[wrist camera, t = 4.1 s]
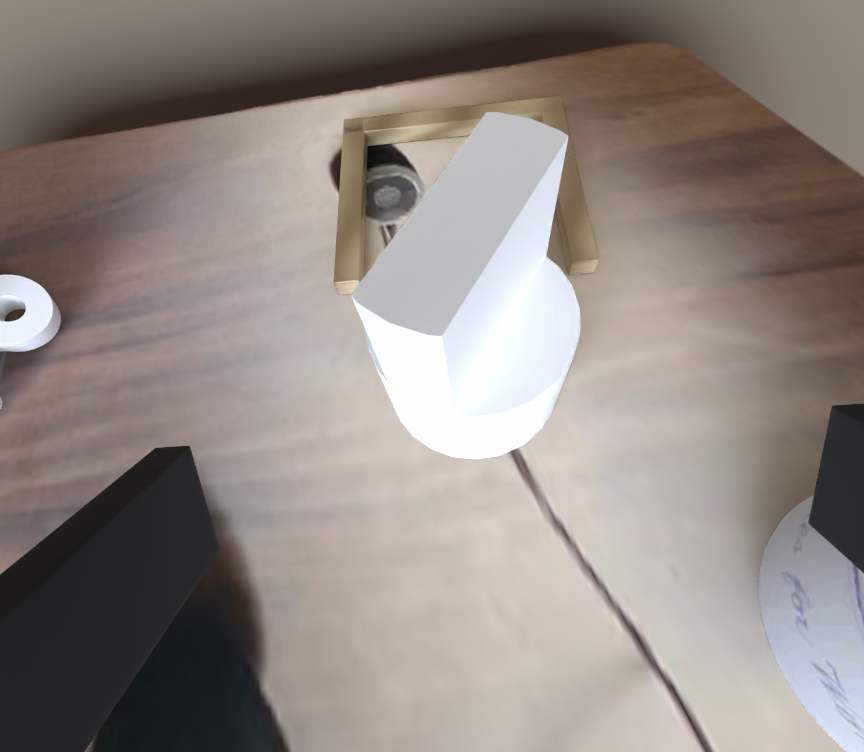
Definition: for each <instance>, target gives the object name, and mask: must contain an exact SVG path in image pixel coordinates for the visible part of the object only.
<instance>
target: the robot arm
mask: <svg viewBox="0 0 864 752" xmlns="http://www.w3.org/2000/svg"><path fill="white" fill-rule="evenodd" d="M808 524H809V525H810V526H812V527H813V528H814V529H815V530H816V531H817V532H818V533H819V534H821V535H822V536H823V537H824V538H825V539H826V540H827V541H828V542H829V543H831V544H832V545H833V546H834V547H835V548H836V549H837V550H838V551H839V552H841V553H842V554H843V555H844V556H845V557H846V558H847V559H848V560H849V561H851V562H852V563H853V564H854V565H855V566H856V567H857V568H858V569H860V570H861V571H862V572H863V573H864V404H851V405H835V406H832V409H831V414H830V419H829V424H828V429H827V434H826V438H825V443H824V448H823V453H822V458H821V463H820V468H819V473H818V478H817V482H816V487H815V492H814V497H813V502H812V507H811V512H810V517H809V522H808ZM219 551H220V549H219V546H218V542H217V539H216V535H215V532H214V528H213V525H212V521H211V518H210V514H209V511H208V508H207V504H206V501H205V497H204V494H203V490H202V487H201V483H200V480H199V476H198V473H197V469H196V466H195V463H194V459H193V456H192V452H191V449H190V446H179V447H163V448H155V449H154V450H153V451H151V452H150V453H149V454H148V455H146V456H145V457H144V458H143V459H142V460H140V461H139V462H138V463H137V464H135V465H134V466H133V467H132V468H131V469H129V470H128V471H127V472H126V473H124V474H123V475H122V476H121V477H119V478H118V479H117V480H116V481H115V482H113V483H112V484H111V485H110V486H108V487H107V488H106V489H105V490H104V491H102V492H101V493H100V494H99V495H97V496H96V497H95V498H94V499H93V500H91V501H90V502H89V503H88V504H86V505H85V506H84V507H83V508H82V509H80V510H79V511H78V512H77V513H75V514H74V515H73V516H72V517H70V518H69V519H68V520H67V521H66V522H64V523H63V524H62V525H61V526H59V527H58V528H57V529H56V530H55V531H53V532H52V533H51V534H50V535H48V536H47V537H46V538H45V539H44V540H42V541H41V542H40V543H39V544H37V545H36V546H35V547H34V548H33V549H31V550H30V551H29V552H28V553H26V554H25V555H24V556H23V557H21V558H20V559H19V560H18V561H17V562H15V563H14V564H13V565H12V566H10V567H9V568H8V569H7V570H6V571H4V572H3V573H2V574H1V575H0V752H84V751H85V750H86V748H87V747H88V745H89V744H90V742H91V741H92V739H93V738H94V736H95V735H96V733H97V732H98V731H99V729H100V728H101V726H102V725H103V723H104V722H105V720H106V719H107V717H108V716H109V714H110V713H111V711H112V710H113V708H114V707H115V705H116V704H117V702H118V701H119V699H120V698H121V696H122V695H123V694H124V692H125V691H126V689H127V688H128V686H129V685H130V683H131V682H132V680H133V679H134V677H135V676H136V674H137V673H138V671H139V670H140V668H141V667H142V665H143V664H144V662H145V661H146V659H147V658H148V656H149V655H150V654H151V652H152V651H153V649H154V648H155V646H156V645H157V643H158V642H159V640H160V639H161V637H162V636H163V634H164V633H165V631H166V630H167V628H168V627H169V625H170V624H171V622H172V621H173V619H174V618H175V617H176V615H177V614H178V612H179V611H180V609H181V608H182V606H183V605H184V603H185V602H186V600H187V599H188V597H189V596H190V594H191V593H192V591H193V590H194V588H195V587H196V585H197V584H198V582H199V581H200V579H201V578H202V577H203V575H204V574H205V572H206V571H207V569H208V568H209V566H210V565H211V563H212V562H213V560H214V559H215V557H216V556H217V554H218V553H219Z"/></svg>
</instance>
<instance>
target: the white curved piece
mask: <svg viewBox="0 0 864 752" xmlns="http://www.w3.org/2000/svg"><path fill="white" fill-rule="evenodd" d="M17 309H26V311H25V313H24V315H23V316H22V317H21V318H20V319H18V320H15V321H11V322H5V317H6V316H7V314H8V313H10V312H11V311H13V310H17ZM60 323H61V315H60V311H59V309H58V307H57V305H56V304H55V302H54V301H53V300H52V298H51V297H50V296H49V294H48V293H47V292H46V290H45V289H44V288H43V287H42V286H40V285H39V284H38V283H36V282H34V281H32V280H30V279H28V278H25V277H21V276H16V275H0V352H1V351H13V352H21V351H29V350H33V349H36V348H38V347H41V346H43V345H44V344H46V343H48V342H49V341H50V340H51V339H52V338H53V337H54V336H55V335H56V333H57V332H58V330H59V327H60ZM2 403H3V402H2V399H1V397H0V408H1V407H2Z"/></svg>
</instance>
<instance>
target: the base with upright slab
mask: <svg viewBox="0 0 864 752" xmlns="http://www.w3.org/2000/svg"><path fill="white" fill-rule="evenodd" d="M568 137H569V136H568V135H566V134H565V133H563V132H562V131H560V130H558V129H555V128H553V127H550V126H548V125H545V124H543V123H540V122H538V121H535V120H533V119H531V118H526V117H520V116H515V115H510V114H504V113H499V112H486V113H485V115H484V116H483V117H482V119H481V120H480V121H479V123H478V124H477V125H476V127H475V128H474V129H473V131H472V132H471V134H470V135H469V136H468V138H467V139H466V140H465V142H464V143H463V144H462V146H461V147H460V148H459V150H458V151H457V152H456V154H455V155H454V156H453V158H452V159H451V161H450V162H449V163H448V165H447V166H446V167H445V169H444V170H443V171H442V173H441V174H440V175H439V177H438V178H437V179H436V181H435V182H434V183H433V185H432V186H431V187H430V189H429V190H428V192H427V193H426V194H425V196H424V197H423V198H422V200H421V201H420V202H419V204H418V205H417V206H416V208H415V209H414V210H413V212H412V213H411V214H410V216H409V217H408V218H407V220H406V221H405V223H404V224H403V225H402V227H401V228H400V229H399V231H398V232H397V233H396V235H395V236H394V237H393V239H392V240H391V241H390V243H389V244H388V245H387V247H386V248H385V249H384V251H383V252H382V254H381V255H380V256H379V258H378V259H377V260H376V262H375V263H374V264H373V266H372V267H371V268H370V270H369V271H368V272H367V274H366V275H365V276H364V278H363V279H362V280H361V282H360V283H359V285H358V286H357V287H356V289H355V290H354V291H353V293H352V294H351V297H352V299H353V301H354V304H355V306H356V308H357V311H358V313H359V316H360V318H361V320H362V323H363V325H364V327H365V330H366V340H367V346H368V349H369V351H370V354H371V356H372V359H373V361H374V363H375V366H376V368H377V371H378V373H379V375H380V377H381V379H382V382H383V384H384V386H385V388H386V391H387V393H388V395H389V397H390V400H391V402H392V404H393V406H394V408H395V411H396V413H397V415H398V417H399V419H400V420H401V422H402V423H403V424H404V425H405V427H406V428H407V429H408V431H409V432H410V433H411V434H412V435H413V436H414V437H415V438H417V439H418V440H419V441H421V442H422V443H424V444H425V445H426V446H428V447H429V448H431V449H433V450H436V451H438V452H441V453H444V454H446V455H449V456H452V457H459V458H469V459H481V458H487V457H494V456H500V455H502V454H505V453H507V452H509V451H511V450H514V449H516V448H518V447H521V446H522V445H523V444H525V443H526V442H527V441H528V440H530V439H531V438H532V437H533V436H535V435H536V434H537V433H538V432H539V431H540V430H541V428H542V427H543V426H544V424H545V423H546V421H547V420H548V418H549V417H550V416H551V414H552V412H553V409H554V406H555V404H556V401H557V399H558V396H559V393H560V391H561V388H562V385H563V383H564V380H565V377H566V375H567V372H568V369H569V367H570V364H571V361H572V359H573V356H574V353H575V349H576V346H577V343H578V340H579V337H580V308H579V305H578V302H577V298H576V295H575V292H574V289H573V287H572V285H571V284H570V282H569V281H568V279H567V278H566V276H565V275H564V273H563V272H562V270H561V269H560V268H559V266H557V265H556V264H555V263H554V262H553V261H551V260H550V259H549V258H548V257H547V256H546V254H547V249H548V243H549V238H550V233H551V227H552V222H553V217H554V211H555V206H556V201H557V196H558V190H559V185H560V180H561V174H562V169H563V164H564V158H565V153H566V148H567V142H568Z"/></svg>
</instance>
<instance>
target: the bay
mask: <svg viewBox="0 0 864 752" xmlns="http://www.w3.org/2000/svg"><path fill="white" fill-rule="evenodd" d="M486 112H499V113H504V114H510V115H515V116H520V117H526V118H531V119H533V120H535V121H538V122H540V123H543V124H545V125H548V126H550V127H553V128H555V129H558V130H560V131H562V132H563V133H565V134H566V135H568V136H569V137H568V142H567V148H566V153H565V158H564V164H563V169H562V174H561V180H560V185H559V190H558V196H557V201H556V206H555V209H556V214H557V219H558V224H559V229H560V234H561V239H562V244H563V249H564V255H565V260H566V265H567V270H568V274H569V275H572V274H583V273H594V272H595V269H596V266H597V264H598V261H599V258H598V253H597V249H596V245H595V241H594V236H593V232H592V228H591V224H590V219H589V215H588V211H587V207H586V202H585V198H584V194H583V190H582V185H581V181H580V177H579V173H578V168H577V164H576V160H575V156H574V151H573V147H572V143H571V138H570V134H569V130H568V126H567V121H566V117H565V113H564V109H563V104H562V100H561V96H552V97H543V98H535V99H526V100H517V101H508V102H499V103H490V104H481V105H472V106H463V107H454V108H445V109H436V110H427V111H418V112H409V113H400V114H391V115H382V116H373V117H364V118H355V119H346V120H344V125H343V142H342V158H341V174H340V190H339V206H338V222H337V239H336V255H335V271H334V284H335V286H336V289H337V291H338V293H339V294H349V293H353V291H354V290H355V289H356V287H357V286H358V285H359V283H360V282H361V280H362V279H363V278H364V252H365V218H366V184H367V150H368V146H373V145H382V144H392V143H401V142H410V141H420V140H429V139H439V138H448V137H457V136H467V135H470V134H471V132H472V131H473V129H474V128H475V127H476V125H477V124H478V123H479V121H480V120H481V119H482V117H483V116H484V115H485V113H486Z"/></svg>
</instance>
